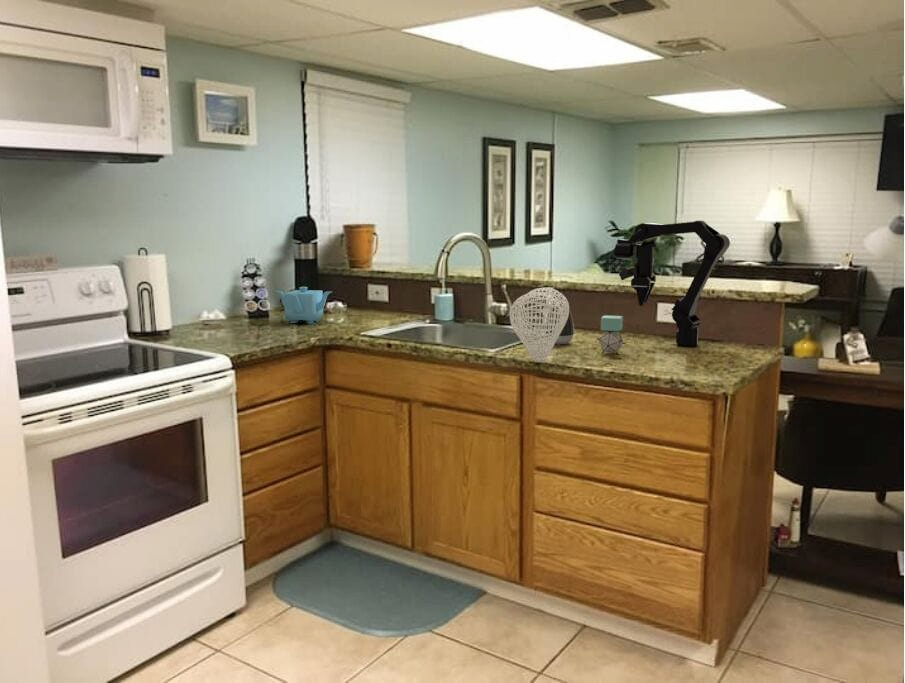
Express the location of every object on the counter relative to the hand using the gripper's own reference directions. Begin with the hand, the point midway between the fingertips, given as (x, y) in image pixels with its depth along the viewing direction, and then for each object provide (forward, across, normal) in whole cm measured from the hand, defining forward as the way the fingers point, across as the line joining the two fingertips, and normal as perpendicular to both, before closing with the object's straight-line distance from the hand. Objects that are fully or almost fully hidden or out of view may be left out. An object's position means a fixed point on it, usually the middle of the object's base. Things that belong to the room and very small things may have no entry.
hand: (642, 304), depth 273 cm
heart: (+13, +49, -24) cm, 56 cm away
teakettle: (+13, +2, -137) cm, 138 cm away
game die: (+13, +27, -6) cm, 31 cm away
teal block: (+5, +27, -6) cm, 28 cm away
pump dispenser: (+13, +15, -26) cm, 33 cm away
